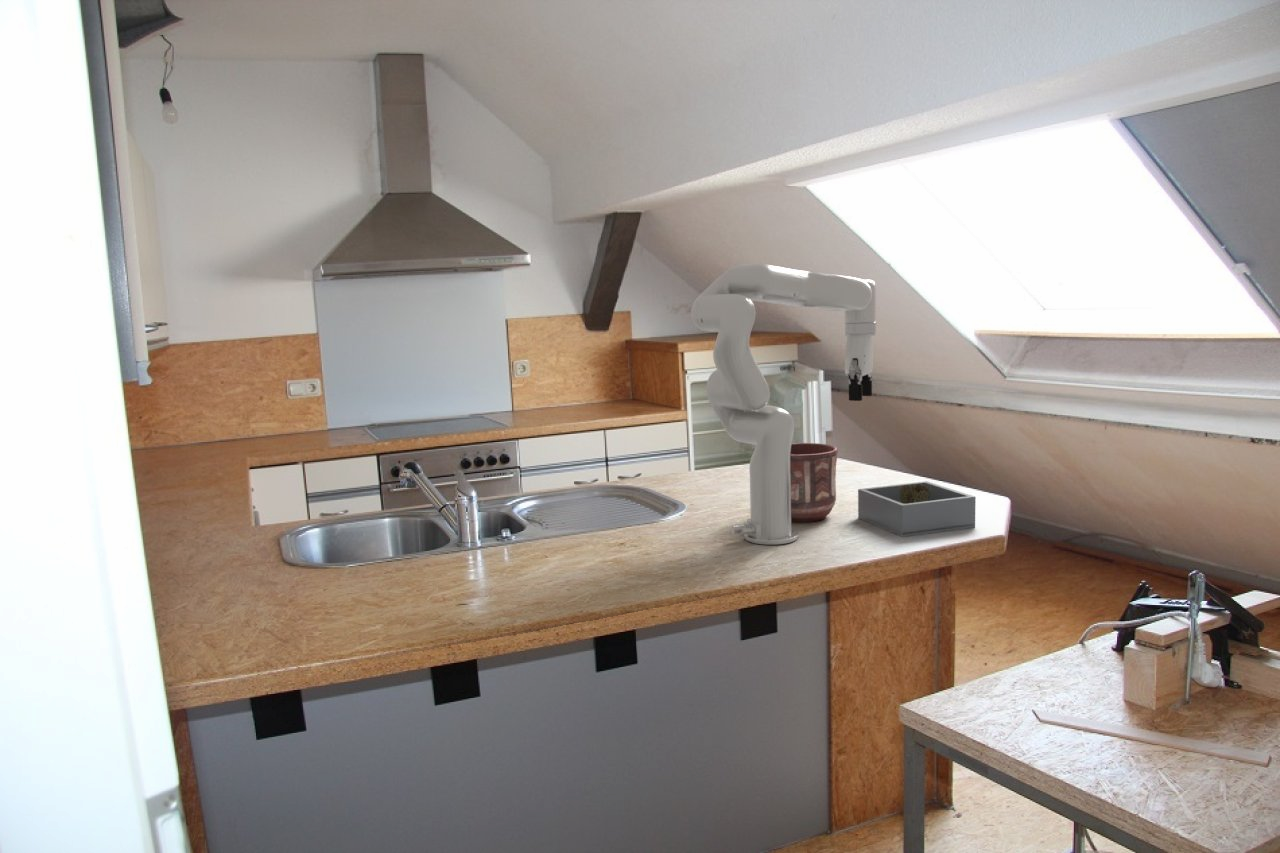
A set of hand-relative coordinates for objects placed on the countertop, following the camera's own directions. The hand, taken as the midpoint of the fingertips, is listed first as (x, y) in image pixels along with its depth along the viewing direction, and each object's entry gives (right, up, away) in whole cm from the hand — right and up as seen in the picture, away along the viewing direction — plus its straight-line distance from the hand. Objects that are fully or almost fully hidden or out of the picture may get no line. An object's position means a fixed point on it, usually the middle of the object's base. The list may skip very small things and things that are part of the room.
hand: (860, 398), depth 242 cm
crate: (+12, -31, -4) cm, 34 cm away
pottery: (-14, -31, +5) cm, 34 cm away
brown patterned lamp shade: (+12, -30, -4) cm, 33 cm away
